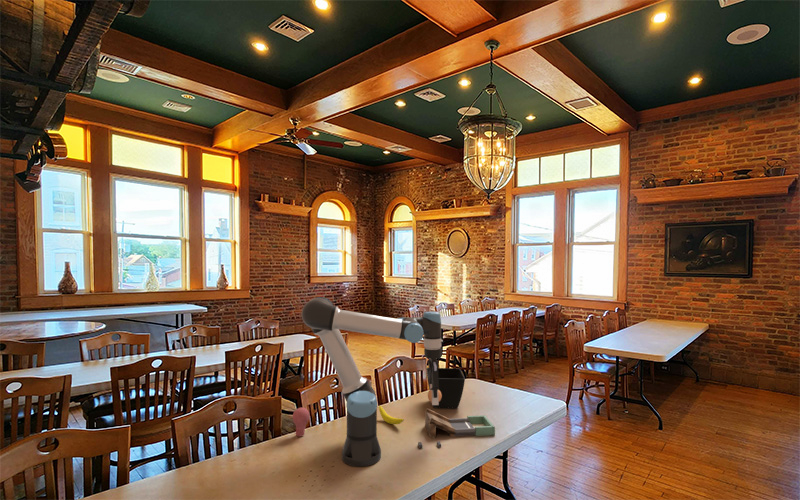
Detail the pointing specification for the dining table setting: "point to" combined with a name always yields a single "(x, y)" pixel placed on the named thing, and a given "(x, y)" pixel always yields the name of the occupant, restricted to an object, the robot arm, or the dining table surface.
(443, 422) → the ramp
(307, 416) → the light bulb
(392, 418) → the banana
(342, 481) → the dining table surface
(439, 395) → the ball
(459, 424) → the runway
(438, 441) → the grey flat pieces
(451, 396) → the flower pot
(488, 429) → the green open tray
